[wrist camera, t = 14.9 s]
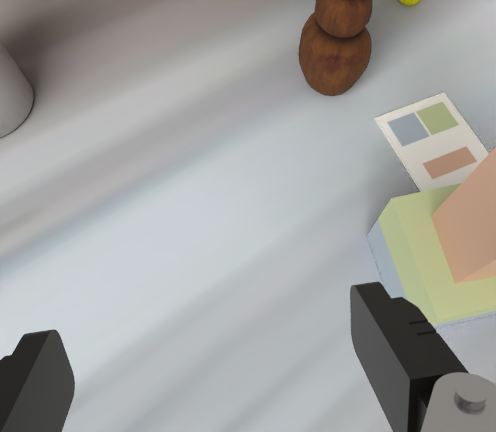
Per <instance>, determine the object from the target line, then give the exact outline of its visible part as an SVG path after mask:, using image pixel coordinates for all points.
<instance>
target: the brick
mask: <svg viewBox="0 0 496 432" xmlns="http://www.w3.org/2000/svg"><path fill="white" fill-rule="evenodd" d="M431 219H432V222H433V224H434V227H435V230H436V233H437V236H438V238H439V241H440V244H441V247H442V249H443V252H444V255H445V258H446V261H447V263H448V266H449V269H450V272H451V275H452V277H453V280H454V283H455V284H457V283H463V282H468V281H474V280H480V279H486V278H491V277H496V147H495V148H494V149H493V150H492V151H491V152H490V153H489V154H488V155H487V156H486V158H485V159H484V160H483V161H482V162H481V163H480V164H479V165H478V166H477V167H476V168H475V169H474V170H473V171H472V173H471V174H470V175H469V176H468V177H467V178H466V179H465V180H464V181H463V182H462V183H461V184H460V185H459V186H458V188H457V189H456V190H455V191H454V192H453V193H452V194H451V195H450V196H449V197H448V198H447V199H446V200H445V201H444V203H443V204H442V205H441V206H440V207H439V208H438V209H437V210H436V211H435V212H434V213H433V214H432V215H431Z"/></svg>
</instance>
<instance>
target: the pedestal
mask: <svg viewBox="0 0 496 432" xmlns="http://www.w3.org/2000/svg"><path fill="white" fill-rule="evenodd" d="M460 184H461V183H459V184H455V185H450V186H445V187H441V188H436V189H431V190H427V191H422V192H417V193H412V194H408V195H403V196H398V197H394V198H391V199H390V201H389V202H388V204H387V206H386V207H385V209H384V210H383V212H382V213H381V215H380V216H379V218H378V219H377V221H376V222H375V224H374V225H373V227H372V228H371V230H370V231H369V233H368V235H367V238H368V241H369V244H370V247H371V250H372V253H373V255H374V258H375V261H376V264H377V267H378V270H379V273H380V276H381V278H382V281H383V284H384V287H385V290H386V291H387V293H388V294H389V296H390V297H391V298H397V297H403V298H405V299H406V300H408V301H409V302H411V303H413V304H414V305H416V306H417V307H418V308H419V309H420V310H421V312H422V313H423V314H424V315H425V317H426V318H427V319H428V322H430V323H431V325H432V326H433V327H434V328H439V327H444V326H448V325H452V324H456V323H461V322H465V321H469V320H474V319H478V318H482V317H486V316H491V315H495V314H496V277H491V278H486V279H480V280H474V281H468V282H463V283H457V284H455V283H454V280H453V277H452V275H451V272H450V269H449V266H448V263H447V261H446V258H445V255H444V252H443V249H442V247H441V244H440V241H439V238H438V236H437V233H436V230H435V227H434V224H433V222H432V219H431V215H432V214H433V213H434V212H435V211H436V210H437V209H438V208H439V207H440V206H441V205H442V204H443V203H444V201H445V200H446V199H447V198H448V197H449V196H450V195H451V194H452V193H453V192H454V191H455V190H456V189H457V188H458V186H459V185H460Z"/></svg>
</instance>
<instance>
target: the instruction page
mask: <svg viewBox="0 0 496 432" xmlns="http://www.w3.org/2000/svg"><path fill="white" fill-rule="evenodd" d="M375 121H376V122H377V124H378V125H379V127H380V129H381V130H382V132H383V133H384V135H385V137H386V138H387V140H388V141H389V143H390V145H391V146H392V148H393V149H394V151H395V152H396V154H397V156H398V157H399V159H400V160H401V162H402V164H403V165H404V167H405V168H406V170H407V171H408V173H409V175H410V176H411V178H412V179H413V181H414V183H415V184H416V186H417V187H418V189H419V190H420V192H422V191H427V190H431V189H436V188H441V187H445V186H450V185H455V184H459V183H462V182H463V181H464V180H465V179H466V178H467V177H468V176H469V175H470V174H471V173H472V171H473V170H474V169H475V168H476V167H477V166H478V165H479V164H480V163H481V162H482V161H483V160H484V159H485V158H486V156H487V155H488V154H489V153H488V152H487V150H486V149H485V147H484V146H483V145H482V143H481V142H480V140H479V139H478V138H477V136H476V135H475V134H474V132H473V131H472V129H471V128H470V127H469V125H468V124H467V123H466V121H465V120H464V118H463V117H462V116H461V114H460V113H459V112H458V110H457V109H456V107H455V106H454V105H453V103H452V102H451V101H450V99H449V98H448V96H447V95H446V94H445V92H443V93H440V94H437V95H435V96H432V97H429V98H427V99H424V100H421V101H419V102H416V103H413V104H411V105H408V106H405V107H403V108H400V109H397V110H395V111H392V112H389V113H387V114H384V115H381V116H379V117H376V118H375Z"/></svg>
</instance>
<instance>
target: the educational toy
mask: <svg viewBox="0 0 496 432" xmlns="http://www.w3.org/2000/svg"><path fill="white" fill-rule="evenodd" d="M399 1H400V2H401V3H402V4H404V5H407V6H411V5H415V4H417V3H418V2H420V1H421V0H399Z"/></svg>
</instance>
